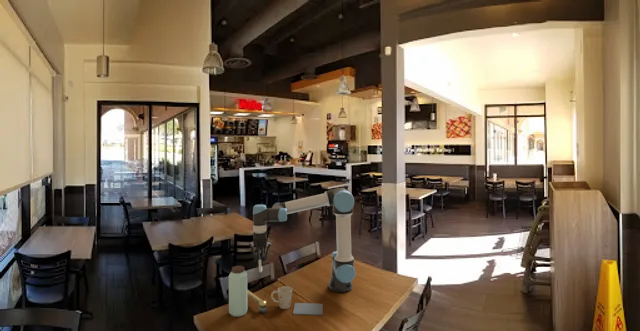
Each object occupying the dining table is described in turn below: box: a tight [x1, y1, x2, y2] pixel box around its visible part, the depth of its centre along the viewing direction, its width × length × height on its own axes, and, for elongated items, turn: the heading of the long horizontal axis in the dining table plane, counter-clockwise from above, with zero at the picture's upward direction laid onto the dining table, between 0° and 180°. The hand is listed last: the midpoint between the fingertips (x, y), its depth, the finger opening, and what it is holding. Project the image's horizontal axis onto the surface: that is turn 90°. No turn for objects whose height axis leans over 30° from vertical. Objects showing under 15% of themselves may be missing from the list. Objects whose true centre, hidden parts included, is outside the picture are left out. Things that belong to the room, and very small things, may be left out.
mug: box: [270, 285, 293, 310], centre depth 196 cm, size 8×13×10 cm, turn 78°
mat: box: [292, 302, 324, 316], centre depth 193 cm, size 16×12×1 cm
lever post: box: [258, 306, 268, 315], centre depth 189 cm, size 4×4×3 cm
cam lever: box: [247, 289, 268, 308], centre depth 197 cm, size 4×26×3 cm, turn 40°
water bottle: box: [228, 265, 248, 318], centre depth 187 cm, size 10×10×25 cm
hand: (260, 271), depth 203 cm, fingers closed
